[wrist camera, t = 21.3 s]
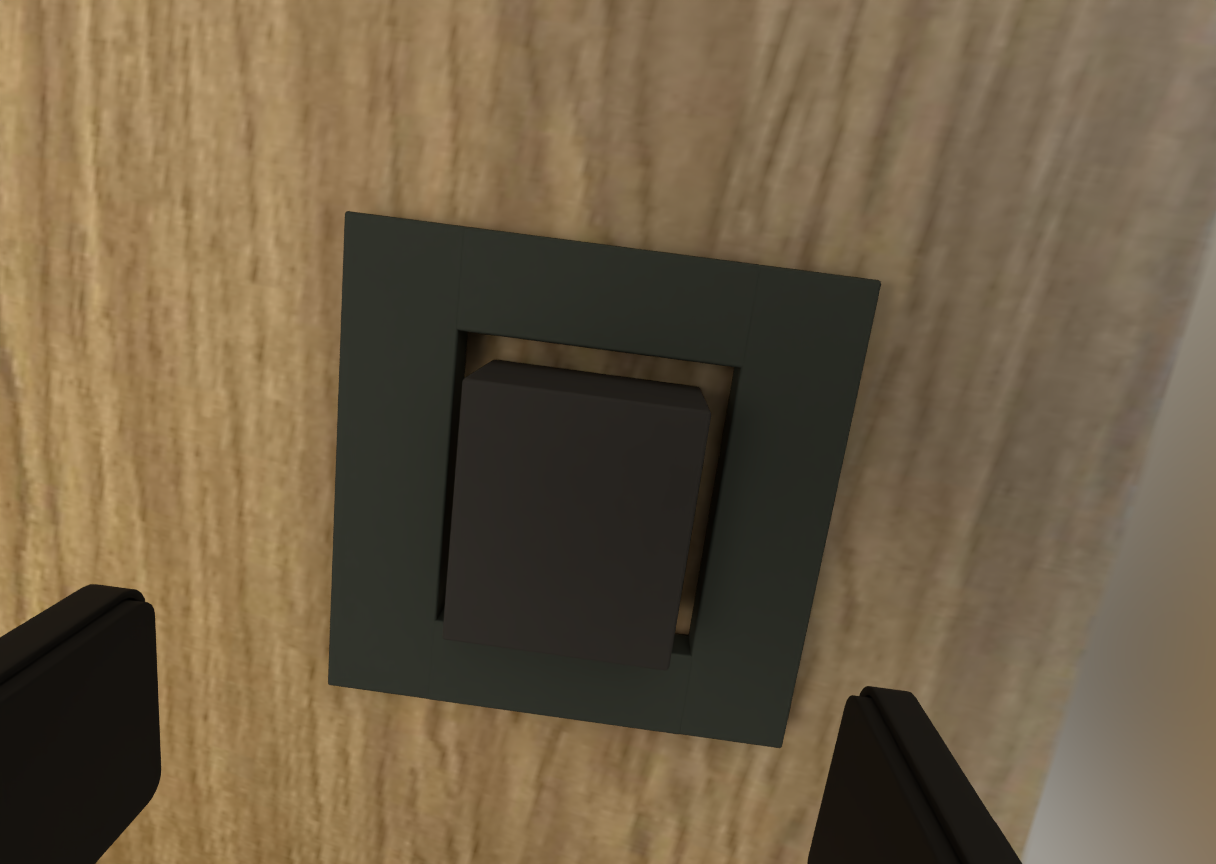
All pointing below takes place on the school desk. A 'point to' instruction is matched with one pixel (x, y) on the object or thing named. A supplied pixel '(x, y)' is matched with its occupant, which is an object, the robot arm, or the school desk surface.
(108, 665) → the robot arm
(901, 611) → the school desk surface
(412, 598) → the frame pad
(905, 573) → the school desk surface
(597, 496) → the black block
